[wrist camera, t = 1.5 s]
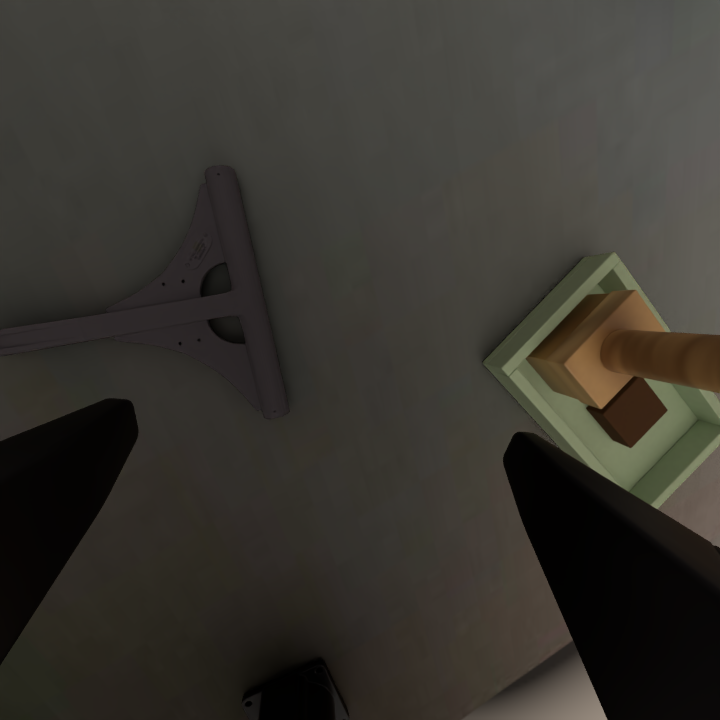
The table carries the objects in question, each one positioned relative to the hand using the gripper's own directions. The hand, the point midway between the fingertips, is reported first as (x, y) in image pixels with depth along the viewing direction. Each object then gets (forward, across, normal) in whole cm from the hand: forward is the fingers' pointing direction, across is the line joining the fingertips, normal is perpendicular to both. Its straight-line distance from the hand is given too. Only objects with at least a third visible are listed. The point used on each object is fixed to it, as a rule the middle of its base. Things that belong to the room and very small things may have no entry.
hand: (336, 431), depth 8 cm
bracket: (+13, +11, +4) cm, 18 cm away
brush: (+14, -17, +2) cm, 22 cm away
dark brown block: (+13, -23, +6) cm, 27 cm away
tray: (+14, -21, +6) cm, 26 cm away
